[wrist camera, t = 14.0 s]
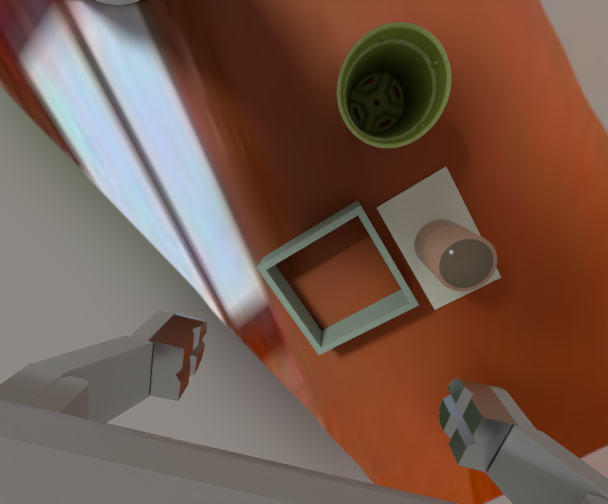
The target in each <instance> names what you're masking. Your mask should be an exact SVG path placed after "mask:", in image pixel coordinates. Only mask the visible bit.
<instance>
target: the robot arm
mask: <svg viewBox="0 0 608 504" xmlns="http://www.w3.org/2000/svg"><path fill="white" fill-rule="evenodd" d="M95 1H98V2H101V3H104V4H109V5H126V4H131V3H134V2H137V1H139V0H95ZM206 330H207V322H206V321H205V320H201V319H197V318H193V317H189V316H185V315H181V314H176V313H174V312H169V311H164V310H159V311H157V312H156V313H155V314H154V315H153V316H152V317H151V318H149V319H148V320H147V321H146V322H145V323H144V324H143V325H142V326H141V327H140V328H139V329H137V330H136V331H135V332H134V333H133V334H132V335H131V336H130V337H129V336H122V337H119V338H115V339H112V340H109V341H105V342H102V343H99V344H95V345H92V346H89V347H85V348H82V349H79V350H76V351H72V352H69V353H65V354H62V355H59V356H56V357H52V358H49V359H46V360H42V361H39V362H36V363H32V364H29V365H27V366H26V367H25V368H23V369H22V370H20V371H19V372H17V373H16V374H15V375H13V376H12V377H10V378H9V379H7V380H6V381H5V382H3V383H2V384H0V504H458V503H454V502H449V501H445V500H441V499H436V498H432V497H428V496H423V495H419V494H415V493H410V492H406V491H402V490H397V489H393V488H388V487H384V486H380V485H375V484H371V483H366V482H362V481H358V480H353V479H348V478H344V477H340V476H336V475H331V474H327V473H322V472H318V471H313V470H309V469H304V468H300V467H296V466H291V465H287V464H282V463H278V462H274V461H269V460H265V459H261V458H256V457H252V456H247V455H243V454H239V453H234V452H229V451H226V450H221V449H217V448H212V447H208V446H204V445H199V444H195V443H191V442H186V441H182V440H177V439H173V438H169V437H164V436H160V435H156V434H151V433H146V432H142V431H138V430H134V429H129V428H125V427H120V426H116V425H111V424H107V422H108V421H110V420H111V419H113V418H115V417H116V416H118V415H120V414H121V413H123V412H125V411H126V410H128V409H130V408H131V407H133V406H135V405H136V404H138V403H139V402H141V401H143V400H144V399H146V398H148V397H149V395H151V396H157V397H161V398H166V399H171V400H177V401H178V400H179V399H180V397H181V395H182V394H183V392H184V390H185V389H186V387H187V385H188V382H189V376H191V375H193V374H195V372H196V370H197V369H198V367H199V364H200V362H201V359H202V355H203V351H204V345H205V344H204V342H203V341H202V338H203V337H204V335H205V334H206ZM448 390H449V393H450V395H449V396H447V397H446V398H444V399H443V400H442V403H441V405H440V409H439V419H440V424H441V427H442V429H443V431H444V432H445V433H446V434H447V435H448V436H449V437H450V438H451V440H450V442H449V446H450V448H451V450H452V452H453V455H454V457H455V459H456V462H457V464H458V465H460V466H464V467H468V468H472V469H476V470H479V471H483V472H487V475H488V476H489V477H490V478H491V480H492V481H493V482H494V483H495V484H496V485H497V486H498V488H499V489H500V490H501V491H502V492H503V493H504V494H505V496H506V497H507V498H508V499H509V500H510V501H511V502H512V503H513V504H608V479H607V478H606V477H604V476H603V475H601V474H600V473H599V472H597V471H596V470H595V469H593V468H592V467H590V466H589V465H588V464H586V463H585V462H584V461H582V460H581V459H579V458H578V457H577V456H575V455H574V454H573V453H571V452H570V451H568V450H567V449H566V448H564V447H563V446H562V445H560V444H559V443H557V442H556V441H555V440H553V439H552V438H551V437H549V436H548V435H546V434H545V433H544V432H542V431H538V430H536V428H535V427H534V426H533V424H532V423H531V422H530V421H529V419H528V418H527V417H526V415H525V414H524V413H523V412H522V410H521V409H520V408H519V406H518V405H517V404H516V403H515V401H514V400H513V399H512V397H511V396H510V395H509V394H508V392H507V391H506V390H504V389H503V388H500V387H495V386H490V385H483V384H478V383H474V382H469V381H464V380H460V379H454V380H453V381H452V382H451V383H450V385H449V387H448Z"/></svg>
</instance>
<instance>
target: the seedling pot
mask: <svg viewBox="0 0 608 504" xmlns="http://www.w3.org/2000/svg"><path fill="white" fill-rule="evenodd" d="M414 248H415V252H416V255H417V256H418V258H419V259H420V260H421V261H422V262H423V263H424V264H425V266H426V267H427V268H428V269H429V270H430V271H431V272H432V273H433V274H434V275H435V277H436V278H437V279H438V280H439V281H440V282H441V283H442V284H443V285H444V286H446V287H447V288H449V289H451V290H455V291H470V290H474V289H476V288H478V287H480V286H482V285H483V284H485V283H486V282H487V281H488V280H489V279H490V278H491V277H492V275H493V274H494V272H495V269H496V266H497V253H496V250H495V248H494V246H493V245H492V244H491V243H490V242H489V241H488V240H486V239H485V238H483V237H481V236H479V235H477V234H475V233H473V232H471V231H469V230H467V229H466V228H464V227H462V226H460V225H458V224H456V223H454V222H452V221H449V220H435V221H432V222H430V223H428V224H426V225H425V226H424V227H423V228H422V229H421V230H420V231H419V232H418V234H417V236H416V238H415V243H414Z"/></svg>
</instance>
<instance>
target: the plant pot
mask: <svg viewBox="0 0 608 504" xmlns="http://www.w3.org/2000/svg"><path fill="white" fill-rule="evenodd" d="M369 79H374V81H373V82H371V83H369V84H367V85H366V86H364V87H362V85H363V84H364V83H365V82H366V81H367V80H369ZM393 86H396V88H397V89H398V92H399V95H400V96H399V98H397V97H396V93H395V91H394V88H393ZM450 90H451V67H450V63H449V60H448V57H447V54H446V52H445V50H444V48H443V46H442V45H441V43H440V42H439V41H438V40H437V38H436V37H435V36H434V35H432V34H431V33H430V32H429V31H427V30H425V29H424V28H422V27H420V26H417V25H414V24H410V23H404V22H395V23H389V24H385V25H382V26H379V27H377V28H375V29H373V30H371V31H370V32H368V33H367V34H366V35H364V36H363V37H362V38H361V39H359V40H358V41H357V42H356V44H355V45H354V46H353V47H352V49H351V50H350V51H349V53H348V54H347V56H346V58H345V60H344V62H343V64H342V67H341V70H340V73H339V77H338V82H337V102H338V107H339V111H340V114H341V116H342V119H343V121H344V122H345V124H346V126H347V127H348V129H349V130H350V131H351V132H352V133H353V134H354V135H355V136H356V137H357V138H358V139H360V140H361V141H363V142H365V143H367V144H369V145H372V146H375V147H379V148H397V147H401V146H404V145H407V144H409V143H412V142H414V141H415V140H417V139H419V138H420V137H422V136H423V135H424V134H425V133H427V132H428V131H429V130H430V129H431V128H432V127H433V125H434V124H435V123H436V122H437V120H438V119H439V118H440V116H441V114H442V112H443V110H444V108H445V106H446V104H447V101H448V98H449V94H450ZM376 100H377V101H379V105H378V106H376V105H375V101H376ZM355 108H356V109H357V112H358V115H359V117H360V118H361V119H360V120H358V119H357V117H356V115H355V114H354V109H355ZM388 120H391V121H390V123H389V124H388V125H386V126H384V127H379V125H380V124H383V123H385V122H386V121H388Z"/></svg>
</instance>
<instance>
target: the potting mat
mask: <svg viewBox="0 0 608 504" xmlns="http://www.w3.org/2000/svg"><path fill="white" fill-rule="evenodd" d="M376 208H377V210H378V212H379V214H380V215H381V217H382V219H383V221H384V222H385V224H386V226H387V228H388V229H389V231H390V233H391V235H392V236H393V238H394V240H395V242H396V243H397V245H398V247H399V249H400V250H401V252H402V254H403V256H404V257H405V259H406V261H407V262H408V264H409V266H410V268H411V269H412V271H413V273H414V275H415V276H416V278H417V280H418V282H419V283H420V285H421V287H422V289H423V290H424V292H425V294H426V296H427V297H428V299H429V301H430V303H431V304H432V306H433V308H434V310H436V309H438V308H440V307H442V306H444V305H446V304H448V303H450V302H452V301H454V300H456V299H458V298H460V297H462V296H464V295H466V294H468V293H470V292H473V291H475V290H477V289H479V288H481V287H483V286H485V285H487V284H489V283H491V282H493V281H495V280H497V279H499V278H501V276H500V274H499V272H498V270H497V268H496V269H495V272H494V274H493V275H492V277H491V278H490V279H489V280H488V281H487V282H486V283H485V284H483V285H482V286H480V287H478V288H476V289H474V290H470V291H455V290H451V289H449V288H447V287H446V286H444V285H443V284H442V283H441V282H440V281H439V280H438V279H437V278H436V277H435V275H434V274H433V273H432V272H431V271H430V270H429V269H428V268H427V267H426V266H425V264H424V263H423V262H422V261H421V260H420V259H419V258H418V256H417V255H416V252H415V248H414V243H415V238H416V236H417V234H418V232H419V231H420V230H421V229H422V228H423V227H424V226H425V225H426V224H428V223H430V222H432V221H435V220H449V221H452V222H454V223H456V224H458V225H460V226H462V227H464V228H466V229H467V230H469V231H471V232H473V233H475V234H477V235H479V236H481V235H480V233H479V231H478V229H477V227H476V225H475V223H474V221H473V219H472V217H471V215H470V213H469V211H468V209H467V207H466V205H465V203H464V201H463V199H462V197H461V195H460V193H459V191H458V189H457V187H456V185H455V183H454V181H453V179H452V177H451V175H450V173H449V171H448V169H447V167H446V166H445V167H444V168H442V169H440V170H439V171H437V172H435V173H434V174H432V175H430V176H429V177H427V178H425V179H424V180H422V181H420V182H418V183H417V184H415V185H413V186H412V187H410V188H408V189H407V190H405V191H403V192H402V193H400V194H398V195H397V196H395V197H393V198H391V199H390V200H388V201H386V202H385V203H383V204H381V205H380V206H378V207H376Z"/></svg>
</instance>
